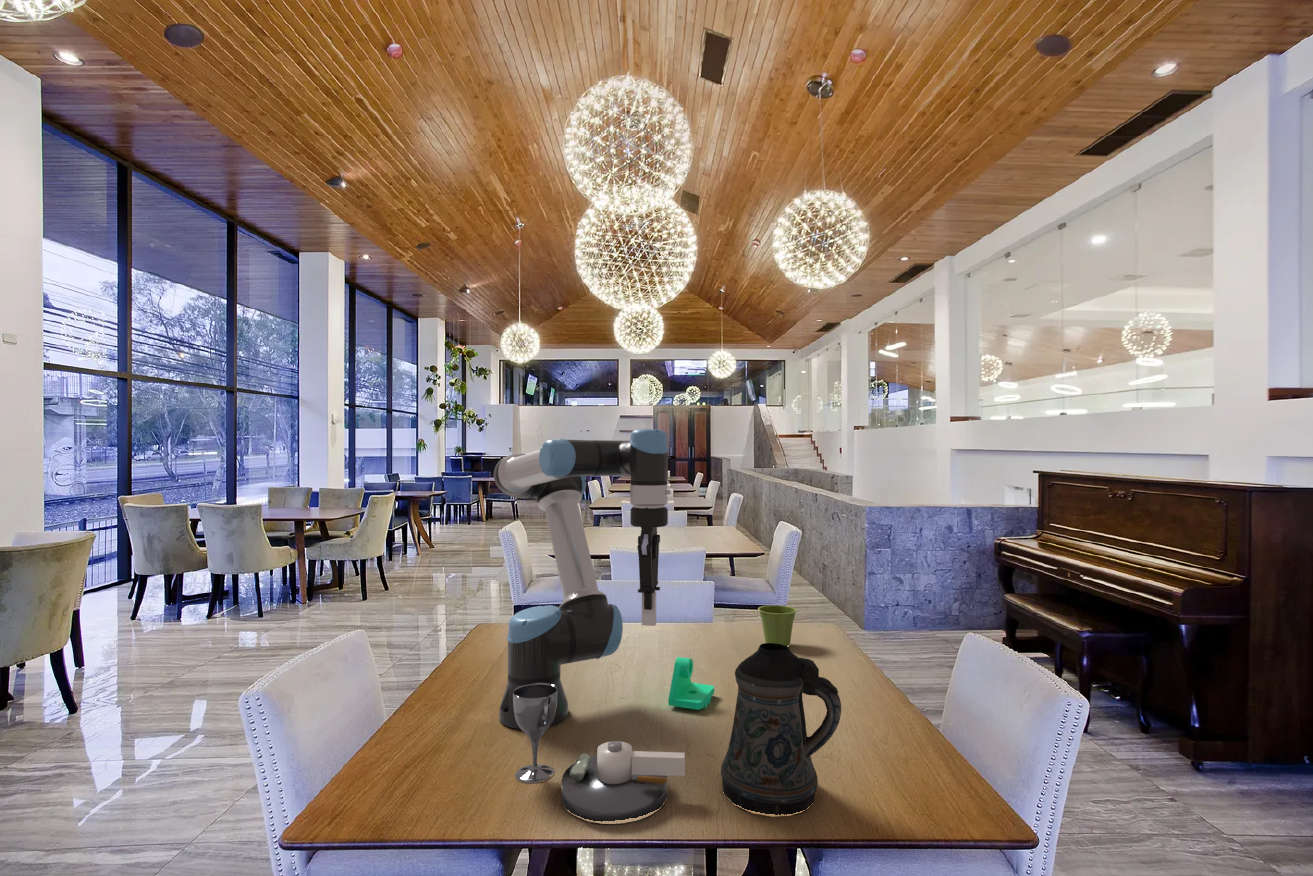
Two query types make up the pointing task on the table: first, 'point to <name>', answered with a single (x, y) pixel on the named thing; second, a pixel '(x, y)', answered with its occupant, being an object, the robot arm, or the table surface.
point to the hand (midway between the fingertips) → (649, 624)
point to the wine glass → (534, 723)
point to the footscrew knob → (635, 763)
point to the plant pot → (777, 623)
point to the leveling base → (609, 793)
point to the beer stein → (776, 732)
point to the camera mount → (688, 687)
